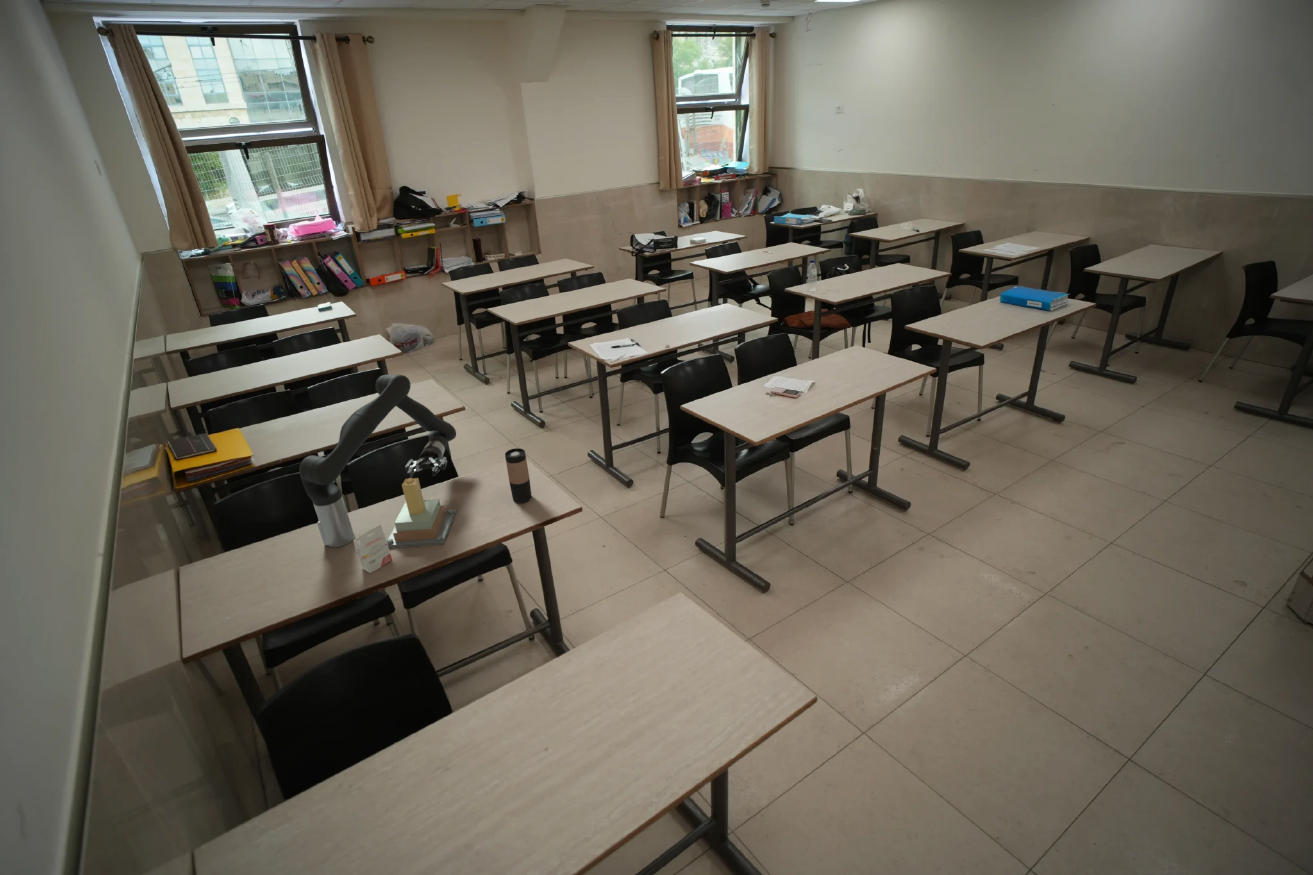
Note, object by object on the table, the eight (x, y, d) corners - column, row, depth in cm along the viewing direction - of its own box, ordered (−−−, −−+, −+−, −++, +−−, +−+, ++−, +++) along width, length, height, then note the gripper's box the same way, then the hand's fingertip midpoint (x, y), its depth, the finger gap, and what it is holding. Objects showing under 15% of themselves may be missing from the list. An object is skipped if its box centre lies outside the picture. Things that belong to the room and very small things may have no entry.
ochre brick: (409, 514, 231) (401, 483, 225) (412, 507, 235) (405, 476, 229) (421, 513, 231) (414, 482, 225) (425, 506, 235) (417, 476, 229)
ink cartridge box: (384, 555, 224) (373, 519, 217) (392, 560, 221) (382, 524, 215) (361, 568, 218) (349, 532, 211) (369, 573, 215) (358, 537, 209)
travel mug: (510, 496, 255) (502, 451, 246) (529, 491, 257) (522, 446, 248) (515, 505, 248) (507, 459, 239) (534, 500, 251) (527, 454, 242)
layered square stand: (385, 548, 228) (379, 528, 224) (402, 516, 245) (397, 497, 242) (443, 544, 228) (438, 524, 224) (455, 512, 246) (451, 494, 242)
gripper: (412, 446, 252) (399, 467, 238) (449, 444, 253) (439, 464, 238) (416, 463, 256) (404, 484, 241) (452, 460, 256) (443, 482, 242)
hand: (421, 474), depth 240 cm, fingers open, 8 cm apart
